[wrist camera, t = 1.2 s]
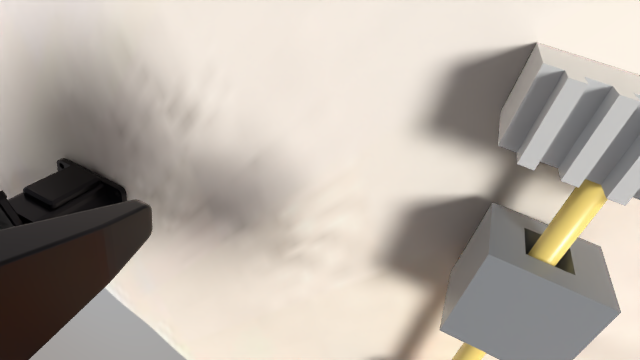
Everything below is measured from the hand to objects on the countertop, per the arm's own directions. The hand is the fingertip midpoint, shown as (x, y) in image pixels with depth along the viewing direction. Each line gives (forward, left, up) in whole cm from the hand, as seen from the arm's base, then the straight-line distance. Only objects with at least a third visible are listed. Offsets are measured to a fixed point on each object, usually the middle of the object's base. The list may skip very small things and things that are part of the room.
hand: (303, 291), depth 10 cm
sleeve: (-5, -8, -12) cm, 15 cm away
